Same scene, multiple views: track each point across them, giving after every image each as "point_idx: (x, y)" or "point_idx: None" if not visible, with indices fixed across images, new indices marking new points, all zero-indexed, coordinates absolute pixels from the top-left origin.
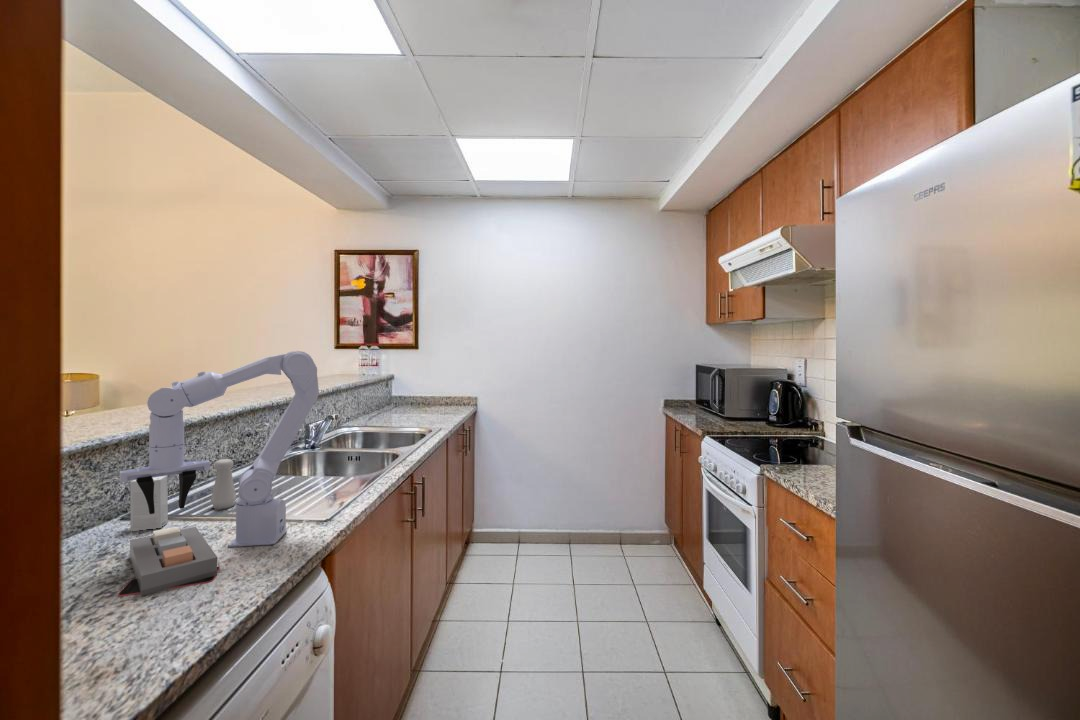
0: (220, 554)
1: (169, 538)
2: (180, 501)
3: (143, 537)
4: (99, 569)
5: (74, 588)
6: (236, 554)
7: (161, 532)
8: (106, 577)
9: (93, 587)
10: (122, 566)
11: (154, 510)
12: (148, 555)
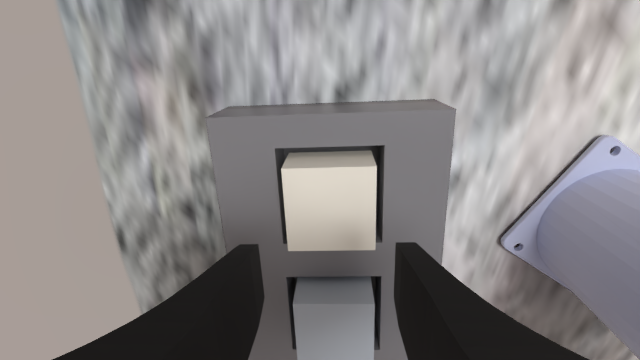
0: (461, 278)
1: (330, 307)
2: (403, 328)
3: (252, 119)
4: (157, 164)
5: (128, 266)
6: (495, 307)
7: (310, 213)
8: (187, 243)
9: (169, 288)
10: (215, 184)
11: (260, 317)
12: (270, 330)
